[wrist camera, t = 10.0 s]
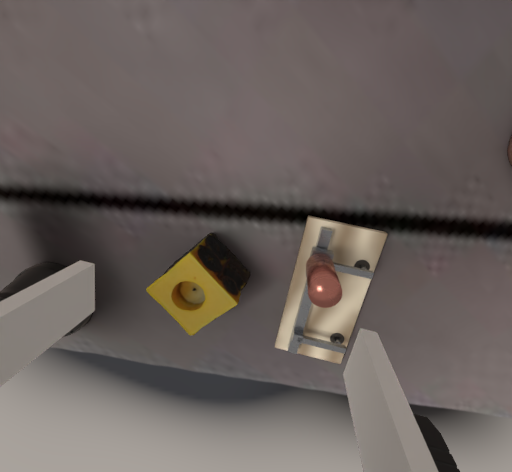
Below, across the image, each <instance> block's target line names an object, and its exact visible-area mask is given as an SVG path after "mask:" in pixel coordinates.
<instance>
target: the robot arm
mask: <svg viewBox="0 0 512 472" xmlns="http://www.w3.org/2000/svg"><path fill="white" fill-rule="evenodd" d="M94 311H95V264H93V263H89V262H85V261H81V260H80V261H78V262H76V263H74V264H72V265H70V266H68V267H64V266H62V265H59V264H55V263H40V264H37V265H34V266H32V267H30V268H28V269H26V270H24V271H22V272H21V273H20V274H19V275H18V276H17V277H16V278H15V280H14V281H13V282H11V283H10V284H9V285H7V286H6V287H5V288H4V289H3V290H2V291H1V292H0V387H1V386H2V385H3V384H4V383H6V382H7V381H8V380H9V379H10V378H12V377H13V376H14V375H15V374H17V373H18V372H19V371H20V370H22V369H23V368H24V367H25V366H27V365H28V364H29V363H30V362H32V361H33V360H34V359H35V358H37V357H38V356H39V355H40V354H42V353H43V352H44V351H45V350H47V349H48V348H49V347H50V346H52V345H53V344H54V343H55V342H57V341H58V340H59V339H60V338H62V337H64V336H68V335H71V334H73V333H75V332H76V331H78V330H79V329H80V328H81V327H83V326H84V325H85V324H86V323H87V322H88V321H89V319H90V317H91V315H92V313H93V312H94ZM343 377H344V381H345V386H346V391H347V396H348V400H349V405H350V410H351V415H352V419H353V424H354V429H355V434H356V438H357V443H358V448H359V453H360V458H361V462H362V467H363V472H460V471H459V469H457V465H456V463H455V461H454V459H453V457H452V455H451V454H449V449H448V447H447V445H446V443H445V441H444V439H443V437H442V435H441V433H440V432H439V431H438V430H437V429H436V428H435V426H434V425H433V424H432V423H431V421H430V420H429V419H428V418H427V417H423V416H420V415H416V414H413V413H412V411H411V408H410V406H409V404H408V401H407V399H406V397H405V395H404V392H403V390H402V388H401V386H400V383H399V381H398V379H397V377H396V374H395V372H394V370H393V368H392V365H391V363H390V361H389V358H388V356H387V354H386V352H385V349H384V347H383V345H382V343H381V340H380V338H379V336H378V334H377V332H374V331H370V330H366V329H361V328H360V330H359V333H358V335H357V338H356V341H355V343H354V346H353V349H352V351H351V354H350V357H349V359H348V362H347V365H346V367H345V370H344V373H343Z"/></svg>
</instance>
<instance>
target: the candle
mask: <svg viewBox="0 0 512 472" xmlns="http://www.w3.org/2000/svg"><path fill="white" fill-rule="evenodd" d="M249 277H250V272H248V271H247V270H246V268H245V267H244V266H243V265H242V263H241V262H240V261H239V260H238V259H237V258H236V257H235V256H234V255H233V254H232V253H231V252H230V250H229V249H227V247H226V246H224V245H223V244H222V243H221V242H220V241H219V240H218V238H217V237H216V235H215V234H213V233H210V234H209V235H207V236H206V237H205V238H204V239H202V240H201V241H200V242H198V244H196V245H195V246H194V247H193V248H192V249H190V250H189V252H187V253H185V254H184V255H183V256H182V257H181V258H180V259H179V260H177V261H176V262H175V263H174V264H173V265H172V266H171V267H169V269H168V270H167V271H166V272H165V273H164V274H163V275H162V276H161V277H159V279H157V280H156V281H155V282H154V283H153V284H151V285H150V286H149V287H148V288H147V290H146V291H147V292H148V293H149V294H150V295H151V296H152V297H153V298H154V299H155V300H156V301H157V302H158V303H159V304H161V305H162V307H163V308H164V309H165V310H166V311H167V312H168V313H169V314H170V315H171V316H172V317H173V318H174V319H175V320H176V321H177V322H178V323H179V324H180V325H181V326H182V327H183V328H184V330H185V331H186V332H187V333H188V334H189V335H194V334H195V333H197V332H198V331H199V330H200V329H201V328H202V327H204V326H205V325H207V324H208V323H210V322H211V321H213V320H214V319H216V318H217V317H219V316H220V315H222V314H223V313H225V312H227V311H228V310H230V309H231V308H233V307H235V306H236V305H237V304H238V302H239V297H240V295H241V294H240V291H241V290H242V289H243V287H245V285H246V284H247V281H248V278H249Z"/></svg>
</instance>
